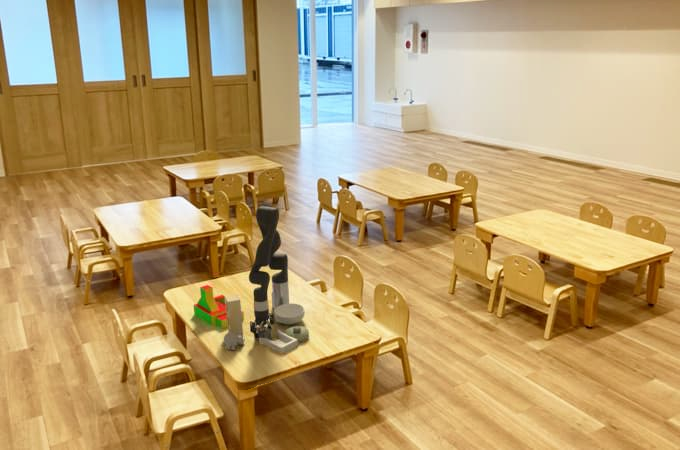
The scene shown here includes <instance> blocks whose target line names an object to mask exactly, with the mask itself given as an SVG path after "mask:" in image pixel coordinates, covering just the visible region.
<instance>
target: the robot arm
mask: <svg viewBox="0 0 680 450" xmlns="http://www.w3.org/2000/svg"><path fill="white" fill-rule="evenodd" d="M255 219H256V220H255V221H256V222H257V225H258V228H259V231H260V233H261V236H262V240H261V241H260V242H259V243H258V245H257V248H256V251H255V259H254V261H253V265H252V267H251V269H250V272H249V275H248V281H249V282H250V283H251V284H253V285H258V286H257V287H256V288H254V289H253V315H254V318H255V319H254V320H253V321H252V320H250V322H249V332H250V333H252V334H253V338H254V339H255V340H259V338H258V331H259V329H260V328H261V327H262V326H264V325H265V326H266V325H267V326H266V327H267V328H269V329H271V333H272V332H273V331H272V327H273V325H275V316H274V313H271V312H270V306H269V305H270V304H269V299H268V298H269V297H268V289H269V285H270V282H271V284H272V285H271V288H272V291H271V303H272V305H271V307H272V308H273V310H274V309H275V308H276V307H278V306H280V305H283V304H289V303H290V292H289V291H290V290H289V288H290V287H289V271H288V270H289V269H288V268H289V266H288V265H289V258H288V254H286V253H277V251H278V250H279V248H281V246H282V240H281V239H282V238H281V235H280V233H279V231H278V230H277V226H278V223H279V220H280V211H279V209H278V208H277V207H274V206H273V207H272V206H271V207H270V206H259V207H258V208H256V212H255ZM262 267H268V268H269V269H270V270H273V271H279V272H277V273H274V274H273V275H272V276H270V274H269V272H267V271H262V270H261V268H262ZM257 325H258V326H259V327H257ZM256 329H257V330H256Z"/></svg>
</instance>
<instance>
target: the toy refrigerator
mask: <svg viewBox="0 0 680 450" xmlns="http://www.w3.org/2000/svg"><path fill="white" fill-rule="evenodd" d="M224 296H225V304H226V313H227V324H228V326H227V333H229V332H234V333H236V334H237V336H239V334H241V335H240V336H243V337H244V329H243V320H242V316H241V311H242V305H241V299H240V297H239V295H238V294H229V295H224Z"/></svg>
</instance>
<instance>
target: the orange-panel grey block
mask: <svg viewBox="0 0 680 450" xmlns="http://www.w3.org/2000/svg"><path fill="white" fill-rule="evenodd" d="M257 327H259V326H258V325H257ZM256 330H257V329H256ZM260 337H261V338H267V339H269V340H271V341H273V340H272V332H271V329H269V328H267V326H266V325H264V326H262V327H261V328H260V329H259V331H258V338H260Z"/></svg>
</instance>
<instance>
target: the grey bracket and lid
mask: <svg viewBox="0 0 680 450" xmlns="http://www.w3.org/2000/svg"><path fill="white" fill-rule="evenodd" d="M276 334H277V336H278V338H279V339H277V340H274V341H273V340H269V339H267V338H261V337H260V338H259V339H258V344H260V345H265V346H267V347H268V348H269V349H273V350H274V351H277V352H278V353H280V354H282V353H283V354H284V353H285V352H288V351H289V350H291V349H294V348H295V347H297V346H298V345H299V343H302V342H305V341H307V340H308V339H309V337H310V335H309V329H308V328H307V327H305V326H297V325H296V326H292V327H289V328H287V329H286V330H285V333H284V332H283V331H281V329H279V328H277V329H276Z"/></svg>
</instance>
